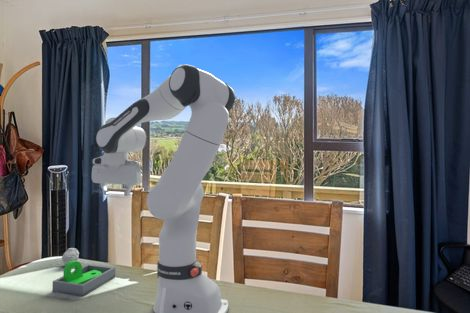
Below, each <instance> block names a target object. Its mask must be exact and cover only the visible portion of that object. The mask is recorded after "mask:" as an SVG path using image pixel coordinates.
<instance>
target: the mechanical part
mask: <svg viewBox="0 0 470 313" xmlns="http://www.w3.org/2000/svg"><path fill="white" fill-rule="evenodd" d="M82 267H83V266H82V263H81V262H80V261H78V260H77V261H69V262H68V263H67V264H66V265H64V267H63V276H64V282H71V283H78V284H84V283H86V282H87V281H89V280H91V279H93V278H95V277H96V276H98V275H100V274H102V272H100V271H97V270H92V271H89V272H87V273H84V274H82ZM73 268H74V270H73V271H74V272H73V271H72V269H73ZM71 272H73V273H71Z"/></svg>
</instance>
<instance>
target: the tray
mask: <svg viewBox="0 0 470 313" xmlns="http://www.w3.org/2000/svg"><path fill="white" fill-rule="evenodd" d="M92 270H97V271H100V272H102V274H100V275H98V276H96V277H95V278H93V279H91V280H89V281H87V282H86V283H84V284H78V283H71V282H64V275H63V276H61V277H59V278H56V279H55V280H52V293H58V294H65V295H70V296H71V295H72V296H77V297H85V296H87V295H88V294H90V293H91V292H93V291H95V290H96V289H98V288H99V287H101V286H103V285H105V284H106V283H108V282H109V281H111V280H113V279H115V278H116V267H113V266H106V265H97V264H91V263H87V264H85V265H83V266H82V274H84V273H87V272H89V271H92ZM73 272H74V270H73V271H71V273H73Z"/></svg>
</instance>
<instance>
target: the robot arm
mask: <svg viewBox="0 0 470 313" xmlns="http://www.w3.org/2000/svg"><path fill="white" fill-rule="evenodd" d="M235 100H236V93H235V91H234V89H233V88H232V87H231V86H230V85H229V84H228V83H226V82H223V81H222V80H220V79H219V78H217V77H215V75H213V74H212V73H209V72H208V71H205V70H202V69H199V68H197V67H196V66H194V65H192V64H191V65H190V64H186V63H185V64H184V63H183V64H179V65H178V66H177V67H175V69H174V70H173V71H172V73H171V74H170V75H169V76H168V77H167V78H165V80H164V81H163V82H161V83H160V85H159V86H157V87H156V89H154V90H152V91H151V92H149V94H147V95H146V96H144V97H142V98H140V99H138V100H137V101H135V102H134V103H132V104H131V105H130V106H128V107H127V108H126V109H125V110H123V111H122V112H121V113H120V114H119V115H117V117H110V118H108V119H107V120H106V121H105V124H103V125H102V126H101V127H100V128H99V129H98V131H97V132H96V135H95V143H96V145H97V146H98V148H99V149H100V150H101V151H102V152H103V153H104V154H103V155H100V156H98V157H95V158H93V159H92V164H93V166H92V167H91V181H92V182H93V183H95V184H100V188H101V190H102V195H104V196H108V195H110V190H109V189H107V185H109V184H110V185H126V191H124V192H123V194H124V195H123V196H124V197H131V190H132V189H133V187H134V186H137V185H140V184H141V183H142V179H143V178H142V173H141V166H142V165H141V162H139V161H138V160H131V159H129V153H130V152H131V153H133V152H134V153H137V152H141V151H143V150H144V148H145V147H146V145H147V141H148V137H147V133H146V131H145V130H144V128H142V127H140V126H138V125H140V124H142V123H146V122H153V121H154V122H155V121H166V120H171V119H174V118H175V117H177V116H178V115H179V114H181V113H182V112H183V111H184V110H186V108H187V107H188V106H189V108H190V109H191V110H190V111H191V115H190V118H189V121H188V123H187V125H186V127H185V130H184V132H183V134H182V138H181V139H180V141H179V143H178V146H177V148H176V151H175V153H174V155H173V157H172V158H171V160H170V162H169V163H168V165H167V167H166V168H165V170H164V171H163V173H162V174H161V176H160V177H159V179H158V181H157V182H156V183H155V185H154V186H153V188H151V189H150V191H149V192H148V194H147V196H146V206H147V209H148V212H149V213H150V214H151V215H152V216H153V217H154V218H156V219H159V220H163V223H162V227H161V230H160V231H159V235H158V261H157V264H156V265H157V267H156V270H157V271H156V272H157V273H156V276H157V279H158V280H157V289H156V294H155V295H156V296H155V300H154V304H153V308H152V311H153V313H228V310H229V308H230V307H229V301H228V300H227V299H223V298H222V294H221V289H220V287H219V285H218V284H217V283H216V282H214V281H213V280H211V279H210V277H208V276H207V275H206V274H204V272H203V267H204V262H205V261H202V262H201V263H200V261H198V258H197V230H198V226H199V220H200V214H201V213H200V212H201V205H202V200H203V198H204V194H205V190H204V186H203V185H202V183H201V182H203V179H204V177H205V176H206V175H207V174H208V172H209V171H210V169H211V167H212V165H213V163H214V160H215V157H216V155H217V154H218V153H217V152H219V149H220V147H221V143H222V141H223V139H224V137H225V133H226V130H227V126H228V124H229V123H228V122H229V118H230V117H229V116H230V114H229V113H230V111H231V109H232V108H233V106H234V104H235V102H236V101H235Z"/></svg>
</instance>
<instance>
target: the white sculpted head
mask: <svg viewBox="0 0 470 313" xmlns="http://www.w3.org/2000/svg"><path fill="white" fill-rule="evenodd" d="M79 256H80V252H79V250H78V249H77V248H75V247H70V248H67V250H66V251H65V252H64V253H63V255H62V256H61V262H63V265H64V266H65V265H66V264H67V263H68V262H69V261H77V262H78V259H79V258H80V257H79Z"/></svg>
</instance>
